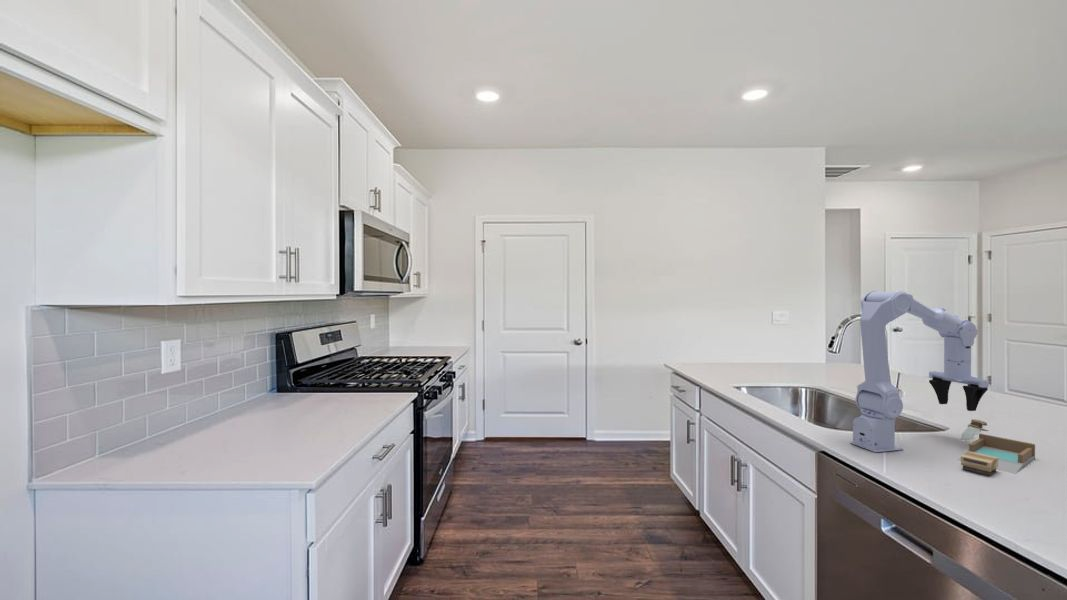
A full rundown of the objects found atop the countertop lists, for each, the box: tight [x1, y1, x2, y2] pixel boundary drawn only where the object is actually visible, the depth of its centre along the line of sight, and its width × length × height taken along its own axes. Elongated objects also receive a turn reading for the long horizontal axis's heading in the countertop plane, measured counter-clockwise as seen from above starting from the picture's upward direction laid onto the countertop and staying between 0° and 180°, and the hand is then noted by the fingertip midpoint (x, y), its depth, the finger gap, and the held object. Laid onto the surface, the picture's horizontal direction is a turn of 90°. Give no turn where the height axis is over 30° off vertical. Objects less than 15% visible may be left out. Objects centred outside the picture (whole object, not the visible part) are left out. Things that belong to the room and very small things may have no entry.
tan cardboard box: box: [960, 450, 998, 477], centre depth 109 cm, size 6×5×3 cm
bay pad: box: [975, 448, 1018, 462], centre depth 117 cm, size 7×8×1 cm
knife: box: [960, 418, 989, 441], centre depth 137 cm, size 27×2×5 cm
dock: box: [957, 433, 1036, 475], centre depth 116 cm, size 18×10×5 cm, turn 121°
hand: (956, 407), depth 130 cm, fingers open, 7 cm apart
